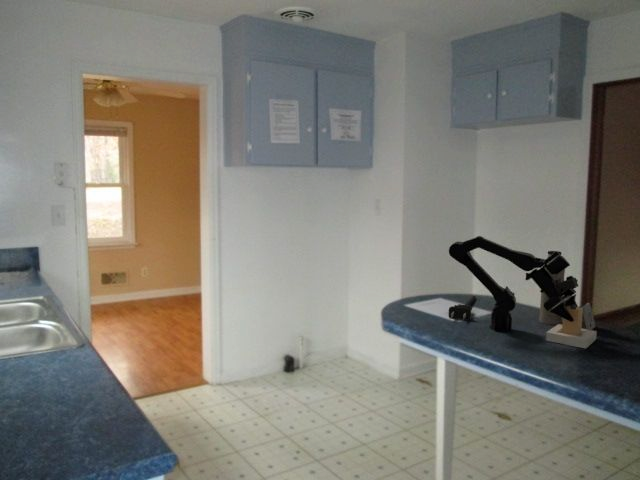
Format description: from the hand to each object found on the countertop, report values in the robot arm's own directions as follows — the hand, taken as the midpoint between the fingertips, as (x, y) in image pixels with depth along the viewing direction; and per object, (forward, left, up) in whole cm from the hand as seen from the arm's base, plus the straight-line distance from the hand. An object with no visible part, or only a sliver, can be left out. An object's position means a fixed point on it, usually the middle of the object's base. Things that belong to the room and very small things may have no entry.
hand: (576, 318), depth 189 cm
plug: (-1, +1, -8) cm, 8 cm away
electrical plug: (-22, +45, -9) cm, 50 cm away
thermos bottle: (+4, +23, -8) cm, 25 cm away
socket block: (-1, +1, -8) cm, 8 cm away
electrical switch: (+12, +13, -8) cm, 20 cm away
